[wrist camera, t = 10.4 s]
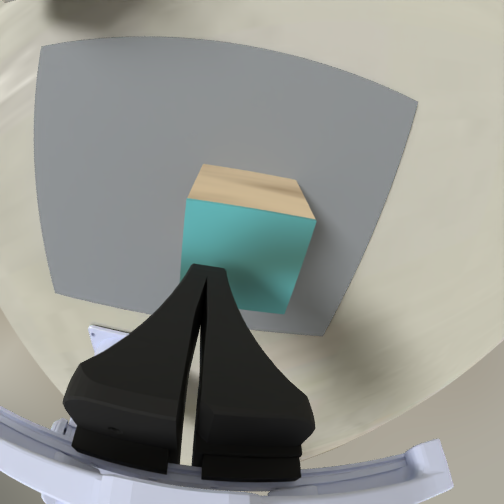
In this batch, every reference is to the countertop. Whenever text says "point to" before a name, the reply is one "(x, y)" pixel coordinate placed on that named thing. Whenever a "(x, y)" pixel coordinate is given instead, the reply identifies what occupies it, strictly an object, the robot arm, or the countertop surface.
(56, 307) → the countertop surface
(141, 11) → the countertop surface
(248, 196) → the oak block
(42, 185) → the rubber mat
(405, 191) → the countertop surface
